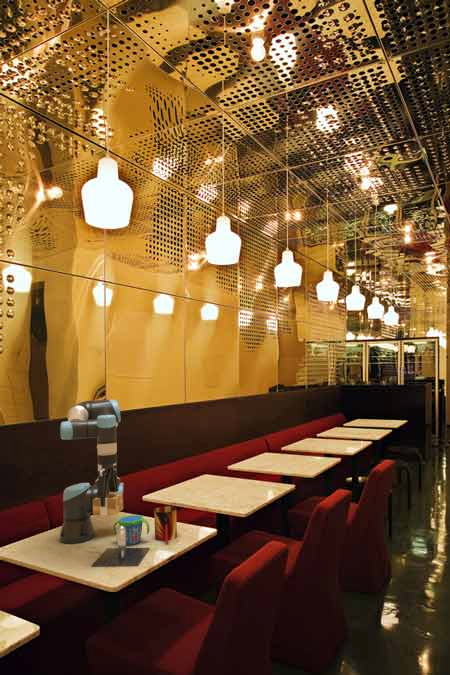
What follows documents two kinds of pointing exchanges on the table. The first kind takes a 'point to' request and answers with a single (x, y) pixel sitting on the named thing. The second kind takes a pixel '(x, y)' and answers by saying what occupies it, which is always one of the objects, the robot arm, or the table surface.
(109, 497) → the square wooden frame
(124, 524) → the snack cup
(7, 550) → the table surface
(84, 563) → the table surface
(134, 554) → the post stand
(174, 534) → the mug
